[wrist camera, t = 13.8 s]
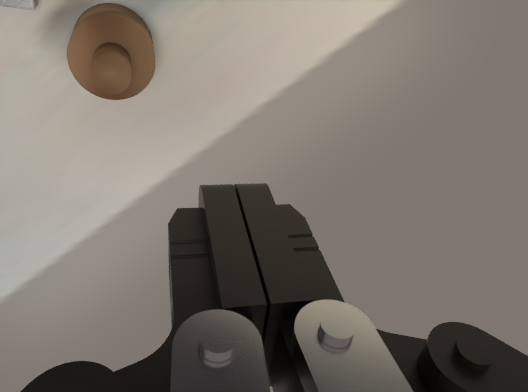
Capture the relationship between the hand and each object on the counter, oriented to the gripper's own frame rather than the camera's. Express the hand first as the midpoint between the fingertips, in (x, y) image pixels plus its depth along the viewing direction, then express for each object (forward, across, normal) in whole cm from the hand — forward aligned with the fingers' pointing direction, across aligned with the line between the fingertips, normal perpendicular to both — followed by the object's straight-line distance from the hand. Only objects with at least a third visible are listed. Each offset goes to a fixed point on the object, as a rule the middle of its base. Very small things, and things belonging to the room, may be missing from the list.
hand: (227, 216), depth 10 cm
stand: (+27, +4, +4) cm, 28 cm away
